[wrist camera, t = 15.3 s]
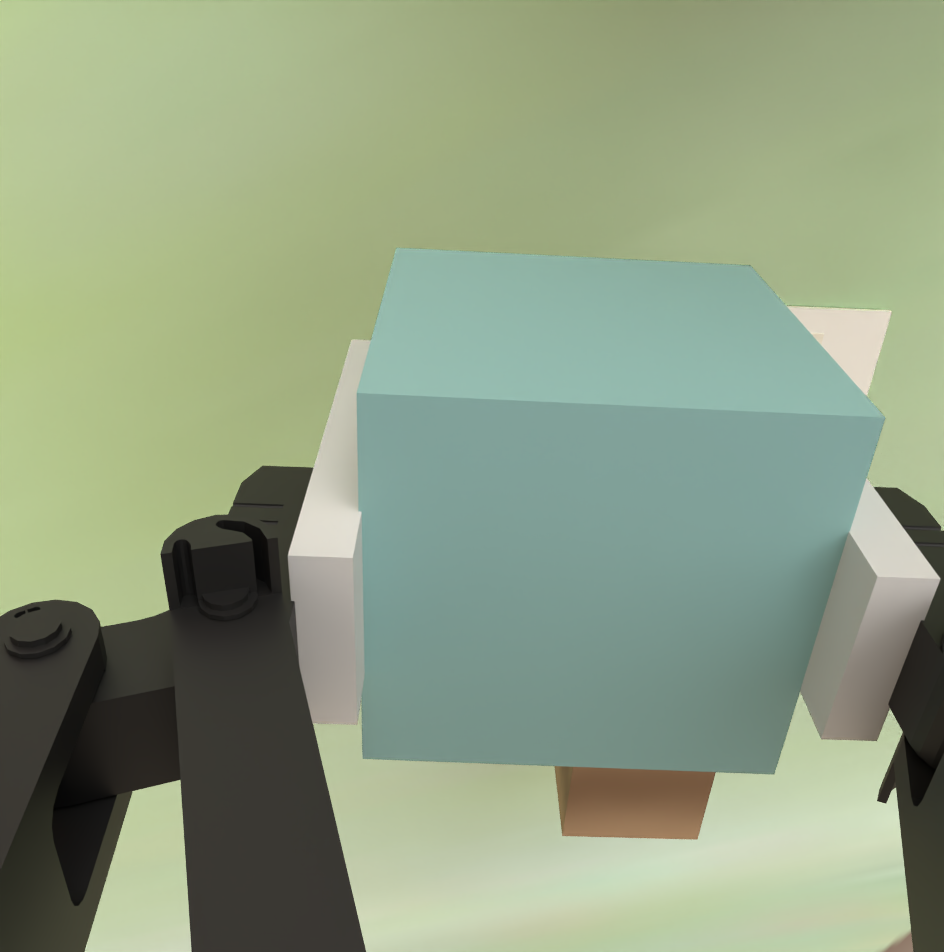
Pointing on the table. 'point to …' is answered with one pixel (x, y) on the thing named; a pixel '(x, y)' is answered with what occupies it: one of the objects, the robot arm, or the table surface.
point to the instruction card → (848, 337)
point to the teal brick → (596, 511)
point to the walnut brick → (632, 802)
